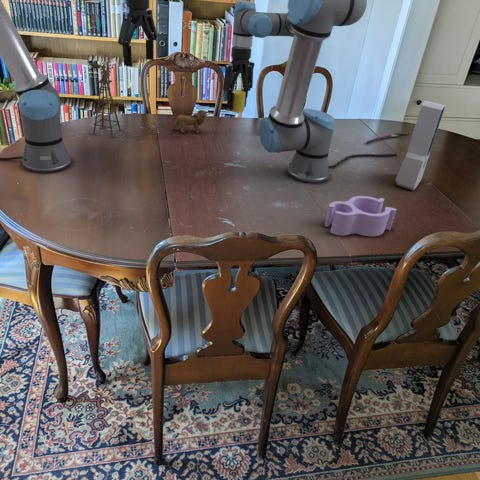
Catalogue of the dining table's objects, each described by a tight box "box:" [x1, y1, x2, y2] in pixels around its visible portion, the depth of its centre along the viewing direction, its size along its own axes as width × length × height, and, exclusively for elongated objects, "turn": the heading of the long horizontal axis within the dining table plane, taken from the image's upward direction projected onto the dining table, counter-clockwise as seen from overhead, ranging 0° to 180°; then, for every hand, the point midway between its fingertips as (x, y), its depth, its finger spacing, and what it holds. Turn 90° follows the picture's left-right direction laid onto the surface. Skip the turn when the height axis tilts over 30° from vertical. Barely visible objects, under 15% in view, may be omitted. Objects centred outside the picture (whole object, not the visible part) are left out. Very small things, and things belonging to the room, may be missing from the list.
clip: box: [324, 195, 398, 237], centre depth 141 cm, size 20×12×7 cm, turn 109°
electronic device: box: [395, 100, 447, 191], centre depth 166 cm, size 12×8×30 cm, turn 148°
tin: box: [227, 89, 246, 113], centre depth 187 cm, size 7×7×7 cm
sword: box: [365, 132, 410, 145], centre depth 213 cm, size 31×3×1 cm, turn 126°
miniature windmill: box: [91, 55, 122, 138], centre depth 181 cm, size 9×8×30 cm
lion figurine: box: [171, 109, 207, 134], centre depth 196 cm, size 15×5×9 cm, turn 110°
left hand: (139, 62), depth 164 cm, fingers open, 13 cm apart
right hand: (236, 107), depth 188 cm, fingers closed on tin, 7 cm apart
